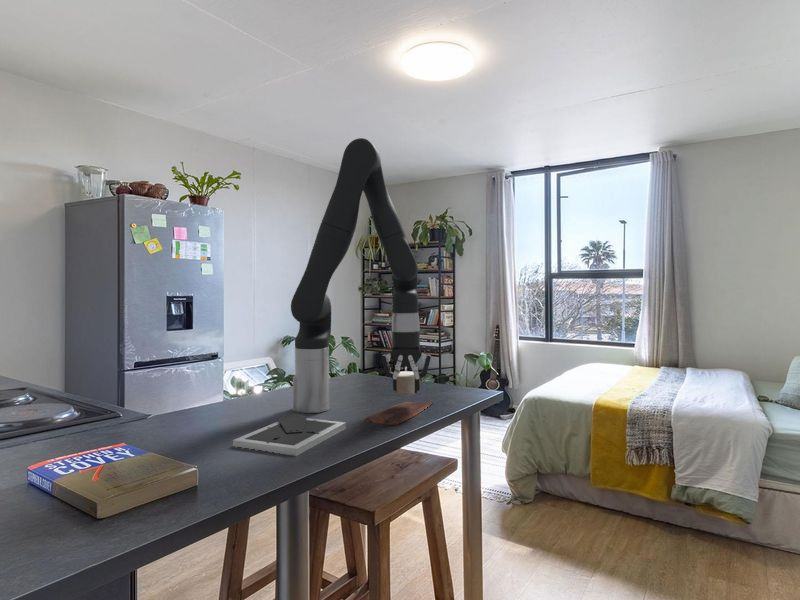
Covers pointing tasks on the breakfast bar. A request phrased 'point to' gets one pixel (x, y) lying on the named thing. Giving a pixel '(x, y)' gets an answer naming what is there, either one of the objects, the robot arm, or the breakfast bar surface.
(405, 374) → the cream block
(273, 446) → the picture frame
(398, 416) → the wooden tablet
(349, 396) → the breakfast bar surface
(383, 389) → the breakfast bar surface
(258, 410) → the breakfast bar surface
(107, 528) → the breakfast bar surface
